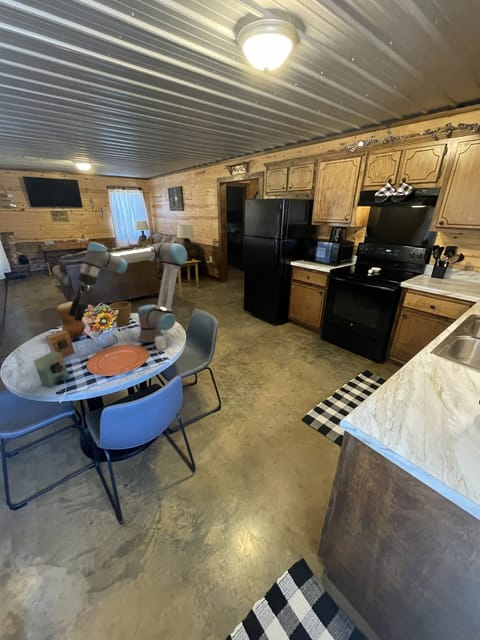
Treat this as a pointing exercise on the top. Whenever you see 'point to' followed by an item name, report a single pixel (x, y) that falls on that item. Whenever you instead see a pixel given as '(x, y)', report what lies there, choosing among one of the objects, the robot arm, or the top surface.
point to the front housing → (45, 370)
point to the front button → (57, 368)
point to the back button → (63, 344)
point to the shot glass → (160, 342)
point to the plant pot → (122, 312)
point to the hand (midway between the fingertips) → (74, 318)
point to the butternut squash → (70, 321)
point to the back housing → (56, 338)
